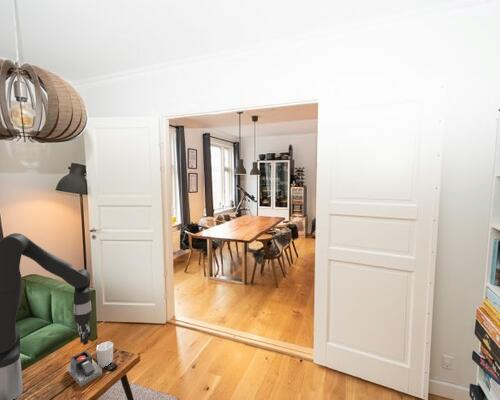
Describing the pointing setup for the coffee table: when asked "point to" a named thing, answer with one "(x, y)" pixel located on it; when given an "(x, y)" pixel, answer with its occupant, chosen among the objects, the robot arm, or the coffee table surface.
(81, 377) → the grey switch box
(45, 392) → the coffee table surface
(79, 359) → the button
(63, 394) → the coffee table surface
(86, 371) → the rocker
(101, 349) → the white cup
